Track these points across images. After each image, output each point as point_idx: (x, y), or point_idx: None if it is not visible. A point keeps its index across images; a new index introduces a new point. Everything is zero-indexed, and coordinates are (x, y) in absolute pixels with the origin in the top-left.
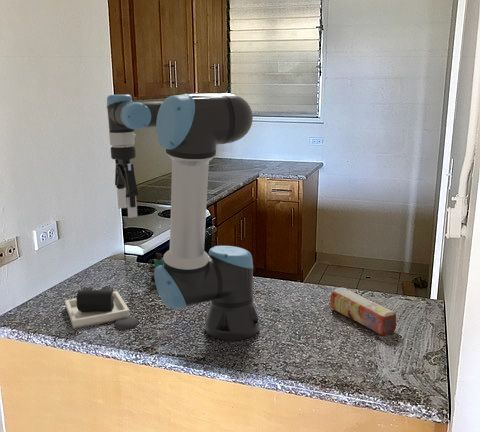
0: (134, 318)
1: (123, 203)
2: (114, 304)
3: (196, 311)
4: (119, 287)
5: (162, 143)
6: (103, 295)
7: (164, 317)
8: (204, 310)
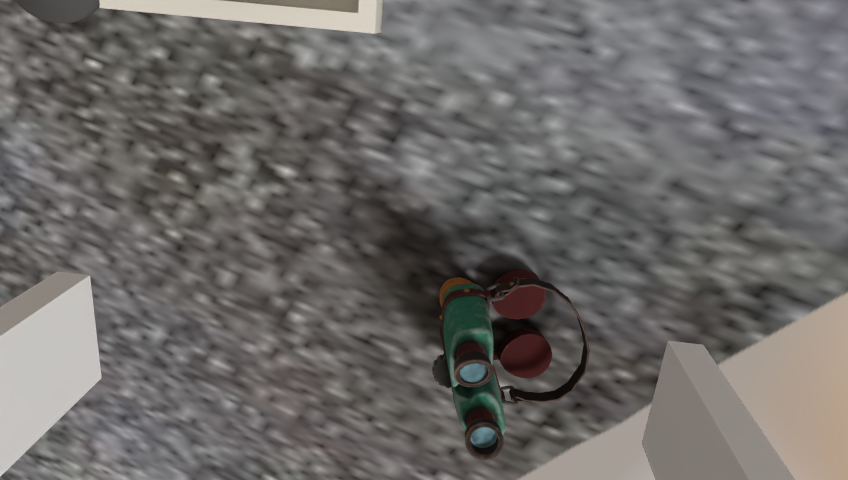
0: (77, 17)
1: (672, 451)
2: None
3: None
4: (522, 89)
5: None
6: None
7: (68, 147)
8: None
